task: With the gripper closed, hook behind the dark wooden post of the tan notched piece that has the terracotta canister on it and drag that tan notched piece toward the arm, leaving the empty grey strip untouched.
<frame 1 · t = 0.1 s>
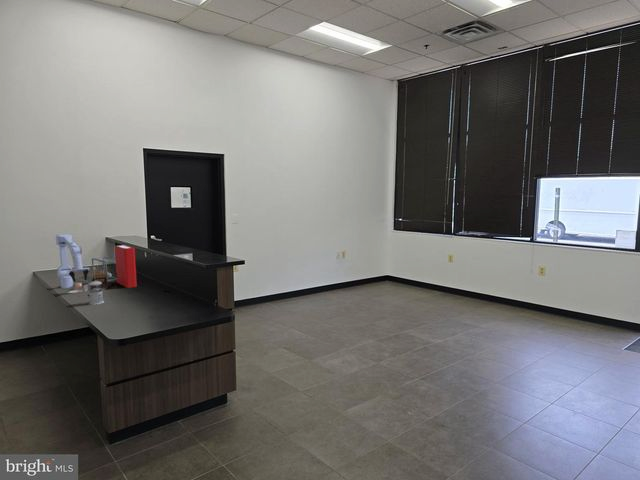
hand: (80, 281, 315), 11 cm above the table, tool pointing down, fingers open, 7 cm apart
french press: (97, 302, 295), on the table
book: (127, 284, 350), on the table
ammunition clip: (99, 283, 354), on the table
grey strip: (77, 289, 321), point 3 cm above the table, slide at 0.0 cm
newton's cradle: (105, 279, 373), on the table
tan notched piece: (82, 286, 329), point 3 cm above the table, slide at 0.0 cm, touching canister
canister: (79, 289, 329), point 1 cm above the table, touching tan notched piece
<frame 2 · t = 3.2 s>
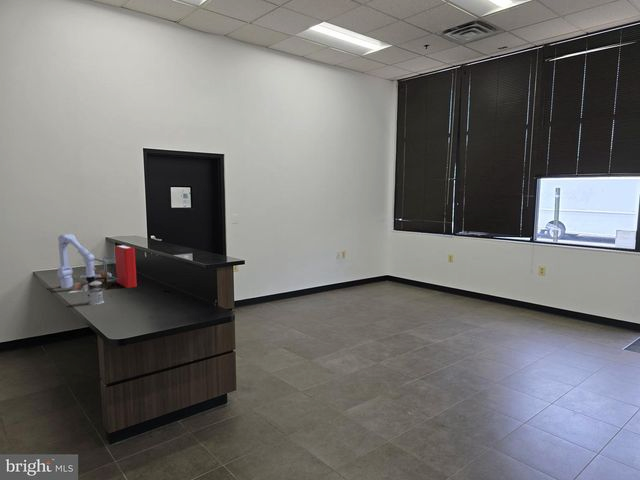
hand: (91, 286, 330), 3 cm above the table, tool pointing down, fingers closed
tan notched piece: (81, 287, 329), point 3 cm above the table, slide at 0.7 cm, touching canister, gripper
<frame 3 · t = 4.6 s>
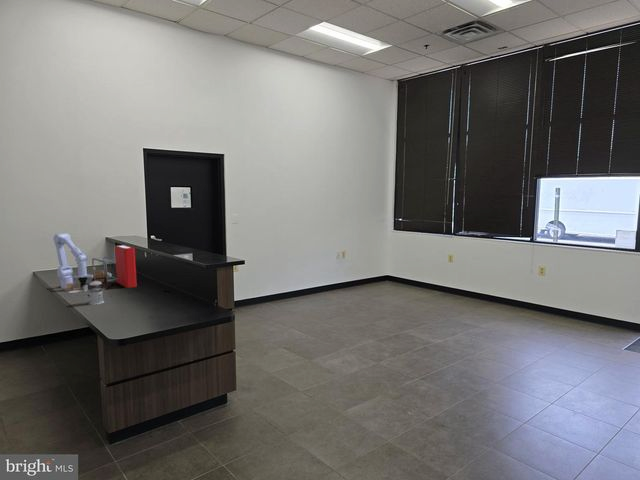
hand: (83, 286, 329), 3 cm above the table, tool pointing down, fingers closed
tan notched piece: (73, 287, 328), point 3 cm above the table, slide at 6.5 cm, touching canister, gripper
canister: (70, 289, 328), point 1 cm above the table, touching tan notched piece
everything else where it was.
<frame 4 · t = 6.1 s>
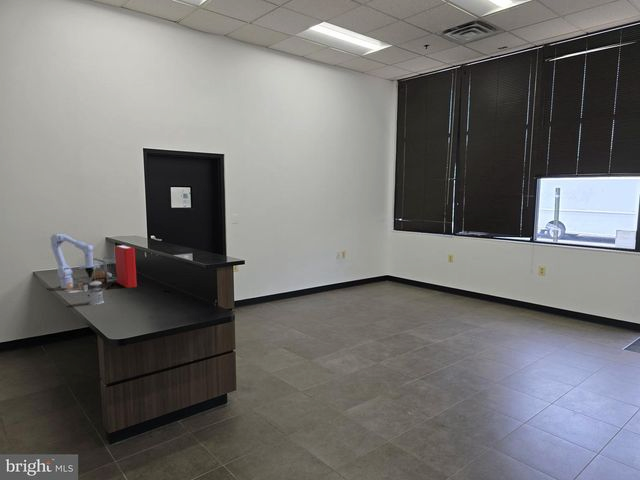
hand: (90, 277, 335), 9 cm above the table, tool pointing down, fingers closed
tan notched piece: (73, 287, 328), point 3 cm above the table, slide at 6.5 cm, touching canister
everything else where it was.
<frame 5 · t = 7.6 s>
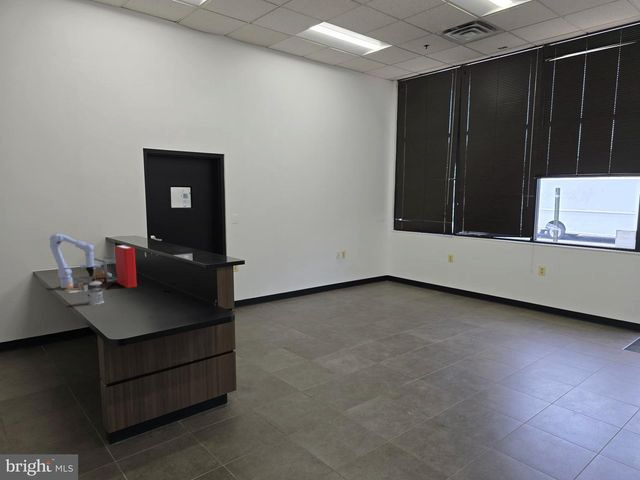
hand: (91, 276, 337), 9 cm above the table, tool pointing down, fingers closed
nothing on the table moved.
at the end: tan notched piece slide at 6.5 cm; canister inside the target area (0.2 cm from its centre), point 1.3 cm above the table; grey strip slide at 0.0 cm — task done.
